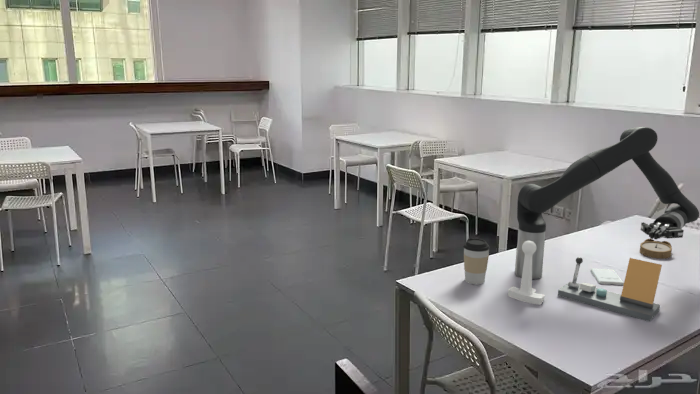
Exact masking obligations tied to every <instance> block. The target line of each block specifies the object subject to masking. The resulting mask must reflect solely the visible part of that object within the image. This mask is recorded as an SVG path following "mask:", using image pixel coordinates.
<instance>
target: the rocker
mask: <svg viewBox="0 0 700 394" xmlns="http://www.w3.org/2000/svg"><path fill="white" fill-rule="evenodd" d="M579 284H580V288H579V289H581V290H585V291H588V292H592V291H595V289H596V288H597V287H596V286H597V285H596V284H592V283H588V282H582V283H579Z"/></svg>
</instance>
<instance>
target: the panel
mask: <svg viewBox="0 0 700 394" xmlns="http://www.w3.org/2000/svg"><path fill="white" fill-rule="evenodd" d="M569 282H572V281H571V280H570V281H569ZM569 282H567V283H566V284H565V285H563V286H562V287H560V288H559V289H558V290H557V296H558V297H562V298H565V299H569V300H572V301H576V302H579V303H583V304H587V305H590V306H593V307H598V308H601V309H604V310H607V311H612V312H614V313H617V314H622V315H625V316H628V317H629V316H630V317H632V318H635V319H636V318H637V319H639V320H643V321H646V322H651V321H652V320H653V319H654V317H656V315H657V314H658V313H659V312H660V309H661V304H658V303H656V302H655V303H653V309H650V308H646V307H643V306H639V305H635V304H632V303H628V302H624V301H620V296H621V294H622V293H621V294H620V293H617V292H613V291H609V290H607V294H606V296H605V297H601V296H598V295H596V291H597V289H598V288H597V287H596V289H595V291H592V292H588V291H585V290H581V289H579V288H580V284H581V283H578V282H576V284H579V288H578V289H576V288H572V287H568V283H569Z"/></svg>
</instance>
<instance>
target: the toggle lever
mask: <svg viewBox="0 0 700 394" xmlns="http://www.w3.org/2000/svg"><path fill="white" fill-rule="evenodd" d="M575 262H576V263H575V269H574V273H573V278H572V281H571V282H570V281H569V282H567V283H568V287H572V288H576V289H578V288H579V284H580V283H579V284H576V283H577V282H578V281H577V280H578V277H579V273H580V267H581V264H583V262H584V258H582V257H580V256H578V257H576V258H575Z"/></svg>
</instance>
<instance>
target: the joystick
mask: <svg viewBox="0 0 700 394" xmlns="http://www.w3.org/2000/svg"><path fill="white" fill-rule="evenodd" d="M536 248H537V247H536V244H535V243H534V242H533V241H525V242H524V243H523V245H522V250H523V252H524V254H525V257H524V265H523V272H522V277H521V280H520V288H518V287H516V286H511V287H510V288H508V292H507V297H510V298H512V299H514V300H518V301H519V302H522V303H523V302H524V303H527V304H531V305H539V306H540V305H542V303H543V302H544V301H545V297H546V296H545V294H542V293H537V289H536V288H533V285H532V284H533V279H532V256H533V254H534V253H535V251H536Z"/></svg>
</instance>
